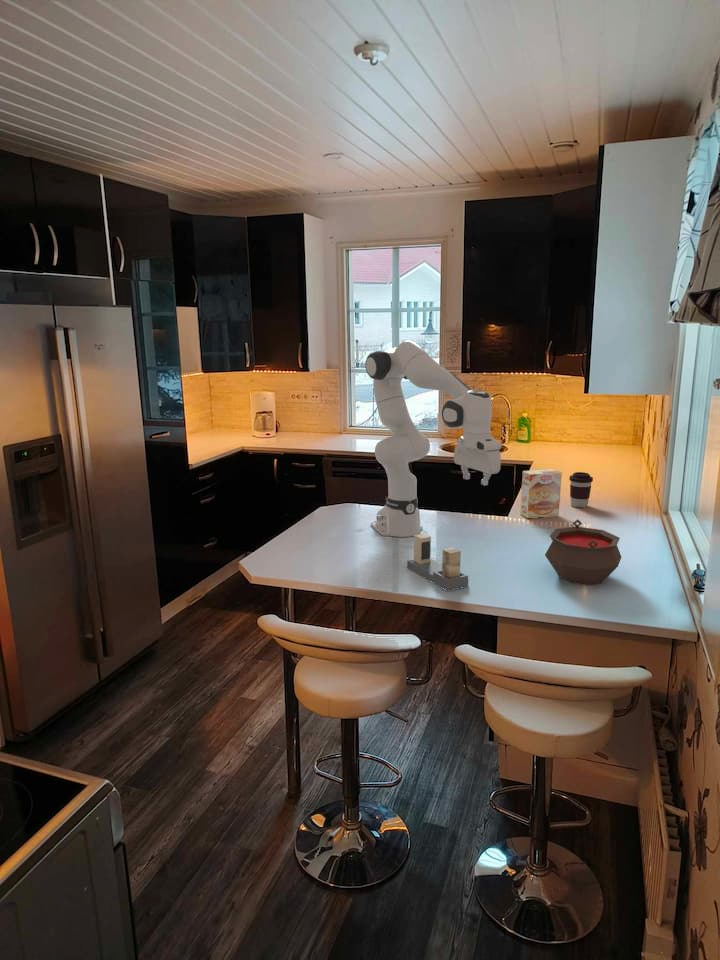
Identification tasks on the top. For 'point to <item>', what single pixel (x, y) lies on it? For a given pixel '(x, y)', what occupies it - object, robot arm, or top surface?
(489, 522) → the top surface
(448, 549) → the block
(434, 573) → the grey block holder
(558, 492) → the coffeecake box
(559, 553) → the brown cauldron
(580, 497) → the coffee cup
